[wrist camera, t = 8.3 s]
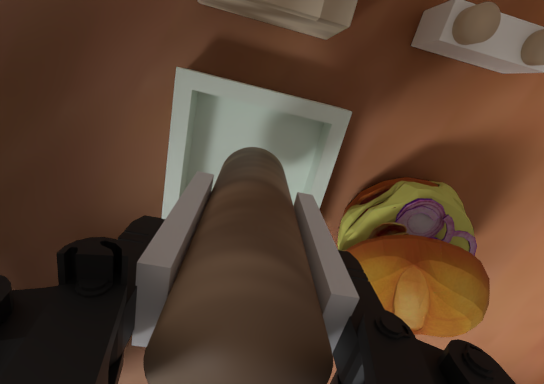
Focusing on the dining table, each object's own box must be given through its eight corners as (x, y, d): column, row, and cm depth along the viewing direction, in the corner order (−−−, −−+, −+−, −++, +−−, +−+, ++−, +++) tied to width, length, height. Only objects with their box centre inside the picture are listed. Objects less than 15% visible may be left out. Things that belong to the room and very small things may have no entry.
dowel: (215, 201, 17) (138, 417, 6) (226, 140, 16) (150, 282, 5) (276, 212, 18) (303, 432, 7) (292, 155, 16) (360, 314, 5)
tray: (170, 212, 21) (160, 228, 19) (186, 68, 18) (176, 66, 15) (299, 235, 23) (304, 253, 21) (340, 107, 19) (352, 111, 17)
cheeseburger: (478, 221, 23) (572, 338, 15) (369, 273, 28) (394, 383, 20) (414, 138, 20) (489, 228, 12) (303, 213, 25) (301, 314, 16)
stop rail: (410, 46, 18) (451, 37, 14) (424, 10, 17) (470, -8, 13) (502, 73, 19) (563, 72, 15) (519, 41, 18) (587, 31, 14)
